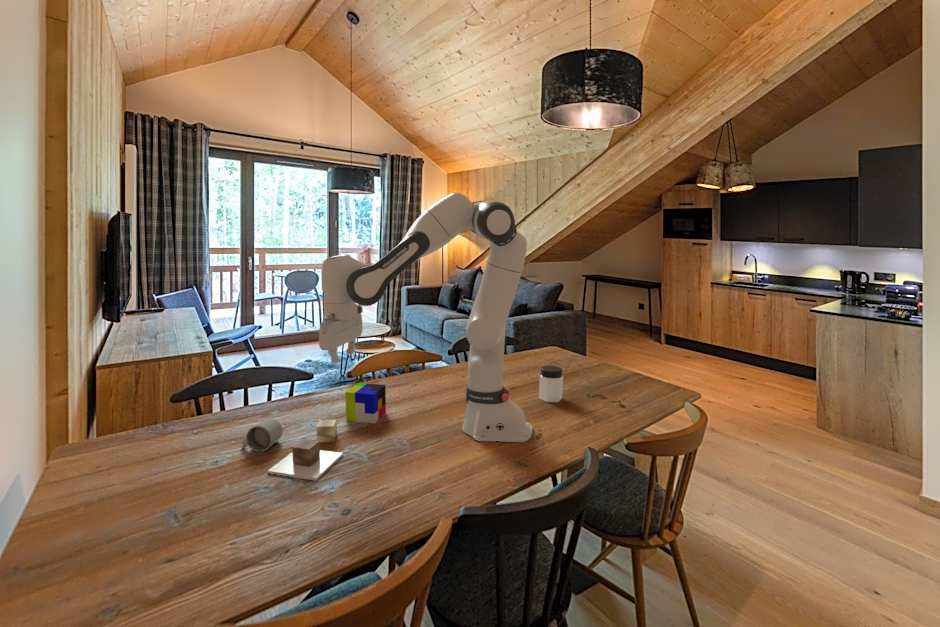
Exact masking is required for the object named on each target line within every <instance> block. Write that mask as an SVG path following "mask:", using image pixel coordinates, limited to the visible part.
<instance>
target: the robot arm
mask: <svg viewBox="0 0 940 627" xmlns="http://www.w3.org/2000/svg"><path fill="white" fill-rule="evenodd" d="M467 230H469V231H471V232H472V233H473V234H476V235H478V237H480V238H482V239H485V240H488V242H489V247H490V248H489V253H488V256H487V260H486V264H485V267H484V271H483V274H482V277H481V281H480V284H479V287H478V290H477V293H476V296H475V299H474V302H473V305H472V308H471V311H470V314H469V317H468V319H467V323H466V327H465V335H466V340H467V341H468V343H469V354H468V362H467V366H468V367H467V368H468V369H467V386H466V388H465V401H466V410H465V414H464V420H463V424H462V426H461V429H462V431H463V433H465V434H467V435H468V436H470V437H471V438H472V439H473V440H475V441H476V440H477V442H496V441H499V442H501V443H502V442H504V443H505V442H506V443H525V442H527V441H529V440H530V439H531V438H532V436H533V431H534V430H533V425H532V424H531V423H530V422H528V421H527V420H526V415H525V411H524V410H523V409H522V407H520V406H518V405H517V404H516V403H515V402H514V401H512V400H511V399H510V396H509V395H510V391H509V390H510V389H509V387H507V388H506V387H504V386H503V383H504V378H503V377H504V356H505V344H506V343H505V342H506V341H505V340H506V325H507V321H508V318H509V315H510V311H511V308H512V306H513V302H514V299H515V297H516V294H517V290H518V286H519V283H520V279H521V276H522V273H523V270H524V265H525V262H526V261H525V260H526V255H527V248H528V247H527V246H528V241H527V239H526V237H525V236H524V235H522V234H521V233H520V232H518V231H517V225H516V221H515V215H514V213H513V211H512V209H511V208H510V207H509V206H508V204H506V203H503V202H501V201H497V200H494V199H493V200H492V199H491V200H489V199H488V200H479V201H471V200H470V198H468V197H467V196H466V195H465V194H463V193H461V192H453V193H450V194H448V195H447V196H445V197H443V198H441V199H440V200H438V201H437V202H435V203H434V204H432V205H431V206H430V207H429V208H427V209H426V210H425V211H424V212H422V213H421V214H420V215H419V216H418V217H417V218H416V219H415V221H414V222H413V223H412V224H411V225H410V227H409V229H408V230H407V232H406V233H405V235H404V236H403V238H402V240H401V241H400V242H399V243H398V244H397V245H395V246H394V248H392V249H391V250H390V251H389V252H388V253H386V254H385V255H384V256H382V258H380V259H379V260H378V261H376V262H375V263H373V264H368V263H364V262H362V261H360V260H357V259H355V258H354V257H352V256H351V255H350V254H346V253H345V254H339V255H334V256H330V257H328V258H326V259H325V260H324V261H323V262H322V265H321V286H322V290H323V294H324V296H323V301H322V302H323V313H324V314H323V315H324V317H323V320H322V321H321V323H320V325H319V327H318V329H319V330H318V345H319V348H320V350H321V351H328V352H327V353H328V355H329V356H330V360H331V364H338V363H339V362H340V355H338V353H337V352H338V348H339V347H341V346H344V345H345V344H347V348H346V354H347V355H353V354H354V353H355V346H356V342H357V341H356V339H357V338H358V337H361V336H362V333H363V316H362V313H364V312H363V311H364V310H363V306H364V307H366V306H373V305H375V304H376V303H378V302H379V301H380V300H381V299H382V298H383V296H384V294H385V291H386V290H387V287H388V286H389V284H390V283H391V282H392V281H393V280H394V279H396V278H397V277H398V276H399V275H400V274H401V273H403V271H404V270H406V269H407V268H409V267H410V265H412V264H414V262H416V261H418V260H419V259H422V258H423V257H426V256H428V255H431V254H433V253H434V252H436V251H439V249H441V248H443V247H445V246H446V245H447V244H449V243H450V242H451V241H452V240H454V239H455V238H456V237H457V236H458V235H459V234H461V233H462V232H464V231H467ZM499 442H498V443H499Z"/></svg>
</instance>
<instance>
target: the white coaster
mask: <svg viewBox="0 0 940 627" xmlns="http://www.w3.org/2000/svg"><path fill="white" fill-rule="evenodd" d="M343 456H344V453H343V452H340V451H338V452H337V451H331V450H330V451H329V450H324V449H323V450H322V449H320V459H319V460H317V461H316V462H315V463H314V464H313V465H312V466H311V467H307V466H299V465H293V452H290V453H289V454H287V455H286V456H285V457H283V459H281V460H280V461H278V462H277V463H275V464H274V465H273V466H272V467H270V469H268V470H267V474H268V473H270V474H269V475H273V474H276V475H275V476H280V475H282V476H281V477H287V476H289V478H295V479H300V480H301V479H302V480H307V481H308V480H309V481H314V482H315V481H318V480H319V479H320V478H321V477H322V476H323V475H324V474H325V473H326V472H328V471H329V469H331V467H333V466H334V465H335V464H336V463H337V462H338V461H339V460H340V459H341V458H343Z"/></svg>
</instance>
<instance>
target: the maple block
mask: <svg viewBox="0 0 940 627" xmlns="http://www.w3.org/2000/svg"><path fill="white" fill-rule="evenodd" d="M337 424H338V423H337V419H319V420H318V423H317V425H316V441H319V443H331V442H332V443H333V442H335V441H336V439H337V438H336V437H337V436H338V432H337V431H338V429H337V427H338V426H337ZM335 438H336V439H335Z"/></svg>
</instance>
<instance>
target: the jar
mask: <svg viewBox="0 0 940 627" xmlns="http://www.w3.org/2000/svg"><path fill="white" fill-rule="evenodd" d="M563 383H564V373H563V368H562V367H560V366H558V365H557V366H556V365H544V366H541V368H540V374H539V384H538V399H539V400H541V401H544V402H545V403H560V401H561V400H562V399H563V390H564V389H563V388H564V387H563V386H564V384H563Z"/></svg>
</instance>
